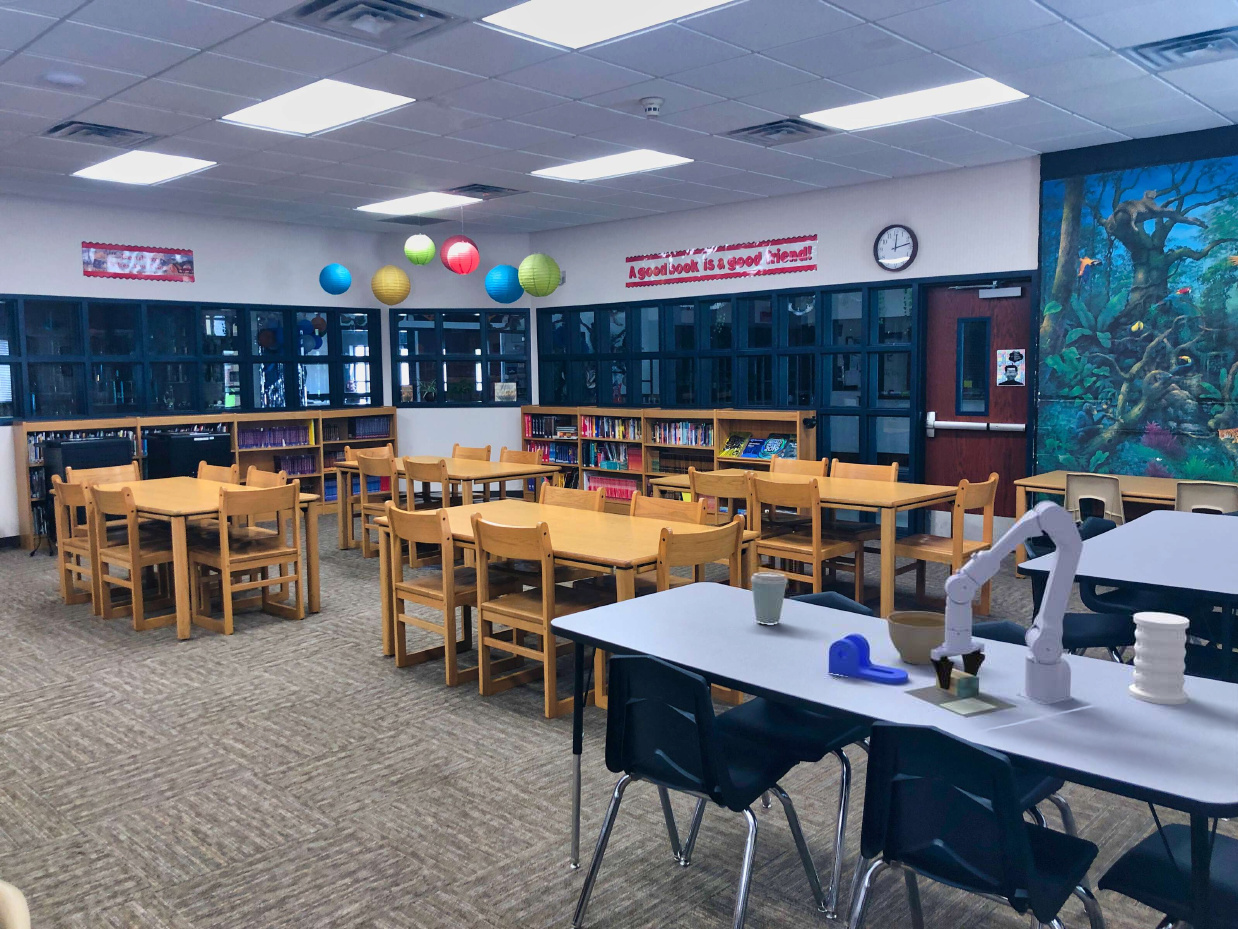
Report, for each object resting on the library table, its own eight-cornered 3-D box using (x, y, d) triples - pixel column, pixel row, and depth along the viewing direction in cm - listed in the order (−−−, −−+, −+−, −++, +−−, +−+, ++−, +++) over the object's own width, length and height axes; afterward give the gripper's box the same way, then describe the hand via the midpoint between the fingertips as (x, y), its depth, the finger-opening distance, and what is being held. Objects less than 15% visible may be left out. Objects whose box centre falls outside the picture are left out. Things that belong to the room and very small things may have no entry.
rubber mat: (951, 683, 227) (951, 681, 227) (1017, 708, 210) (1017, 705, 210) (903, 693, 220) (903, 691, 220) (966, 719, 203) (966, 717, 203)
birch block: (952, 685, 225) (952, 668, 224) (978, 694, 217) (979, 677, 217) (935, 688, 222) (936, 671, 222) (962, 698, 215) (962, 680, 215)
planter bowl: (884, 650, 255) (885, 609, 254) (948, 653, 252) (949, 612, 251) (888, 667, 240) (889, 625, 239) (956, 671, 236) (957, 627, 235)
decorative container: (1184, 692, 219) (1187, 614, 218) (1191, 707, 209) (1194, 626, 207) (1127, 685, 224) (1129, 609, 223) (1130, 701, 214) (1133, 621, 212)
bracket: (828, 674, 235) (829, 638, 234) (843, 666, 242) (843, 631, 241) (899, 688, 224) (900, 651, 223) (913, 680, 230) (914, 643, 230)
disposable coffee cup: (750, 618, 290) (750, 569, 289) (786, 619, 289) (787, 569, 287) (750, 627, 280) (750, 576, 278) (788, 628, 278) (788, 577, 277)
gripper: (968, 620, 225) (967, 676, 227) (921, 627, 219) (920, 686, 220) (992, 627, 219) (990, 685, 220) (944, 635, 213) (943, 694, 214)
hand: (957, 686), depth 220 cm, fingers open, 7 cm apart
